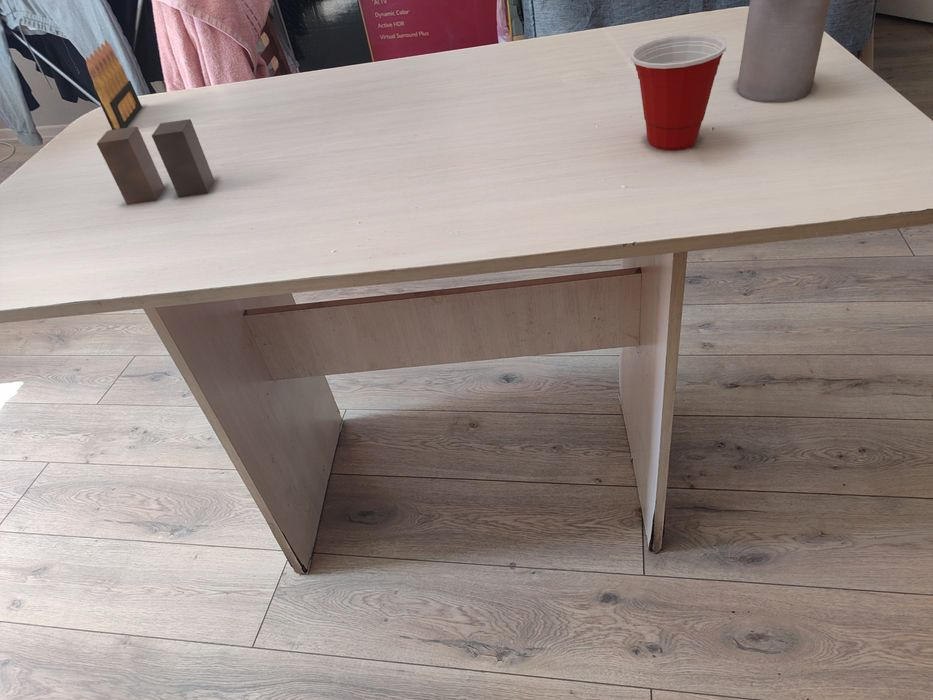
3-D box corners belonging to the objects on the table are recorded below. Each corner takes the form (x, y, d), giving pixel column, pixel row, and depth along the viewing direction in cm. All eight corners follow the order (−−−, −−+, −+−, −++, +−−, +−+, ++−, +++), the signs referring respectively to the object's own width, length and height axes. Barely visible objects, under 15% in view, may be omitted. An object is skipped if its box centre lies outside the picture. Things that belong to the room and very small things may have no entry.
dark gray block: (179, 200, 90) (151, 135, 84) (187, 186, 93) (160, 123, 87) (208, 196, 90) (182, 131, 84) (215, 182, 93) (190, 118, 87)
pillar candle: (775, 72, 99) (796, -43, 90) (827, 91, 92) (856, -32, 82) (721, 88, 97) (736, -28, 87) (770, 109, 90) (793, -15, 80)
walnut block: (128, 207, 90) (96, 143, 84) (137, 193, 93) (107, 130, 87) (157, 203, 90) (127, 138, 84) (165, 189, 93) (137, 126, 87)
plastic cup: (640, 122, 92) (645, 28, 84) (723, 129, 87) (737, 31, 79) (614, 157, 85) (617, 58, 77) (703, 167, 80) (715, 63, 72)
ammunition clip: (125, 133, 111) (90, 58, 104) (113, 134, 111) (78, 60, 104) (143, 109, 119) (112, 37, 112) (133, 110, 120) (101, 39, 112)
